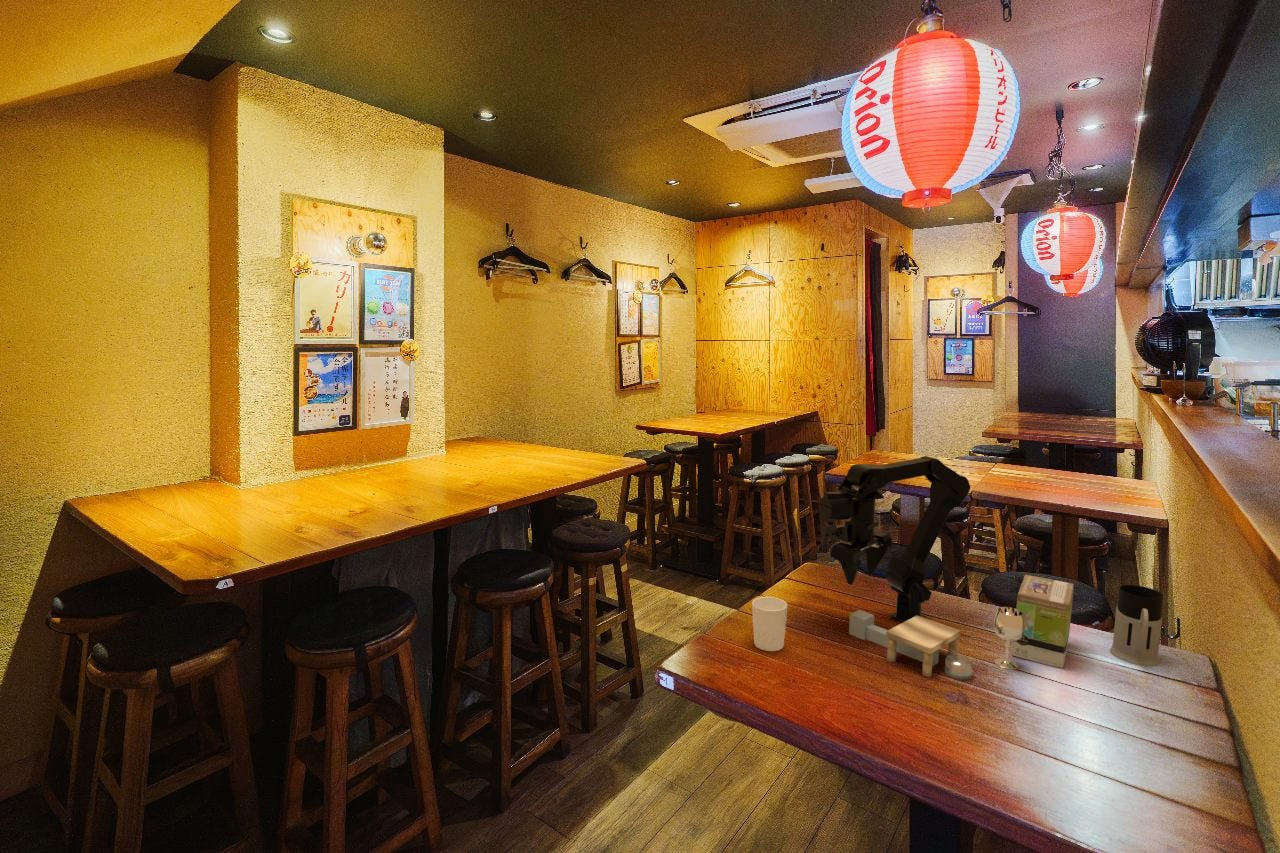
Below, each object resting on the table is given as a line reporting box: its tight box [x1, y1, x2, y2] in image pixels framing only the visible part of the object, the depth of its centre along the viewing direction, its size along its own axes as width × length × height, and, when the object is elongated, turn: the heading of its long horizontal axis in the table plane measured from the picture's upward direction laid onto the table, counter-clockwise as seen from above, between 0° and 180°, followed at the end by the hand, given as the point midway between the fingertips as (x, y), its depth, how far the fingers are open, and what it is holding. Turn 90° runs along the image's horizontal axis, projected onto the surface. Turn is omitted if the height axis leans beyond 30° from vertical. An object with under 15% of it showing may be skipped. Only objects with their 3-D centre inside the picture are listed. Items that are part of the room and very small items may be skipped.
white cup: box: [751, 596, 788, 652], centre depth 144 cm, size 8×8×10 cm
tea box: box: [1011, 574, 1075, 669], centre depth 140 cm, size 15×10×15 cm, turn 143°
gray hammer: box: [848, 609, 940, 667], centre depth 143 cm, size 4×20×5 cm, turn 38°
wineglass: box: [993, 606, 1025, 670], centre depth 134 cm, size 6×6×12 cm
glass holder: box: [1109, 584, 1164, 667], centre depth 135 cm, size 9×14×15 cm, turn 148°
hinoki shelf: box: [886, 616, 962, 678], centre depth 137 cm, size 13×10×6 cm
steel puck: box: [944, 654, 973, 681], centre depth 131 cm, size 5×5×3 cm
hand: (860, 579), depth 153 cm, fingers open, 9 cm apart
